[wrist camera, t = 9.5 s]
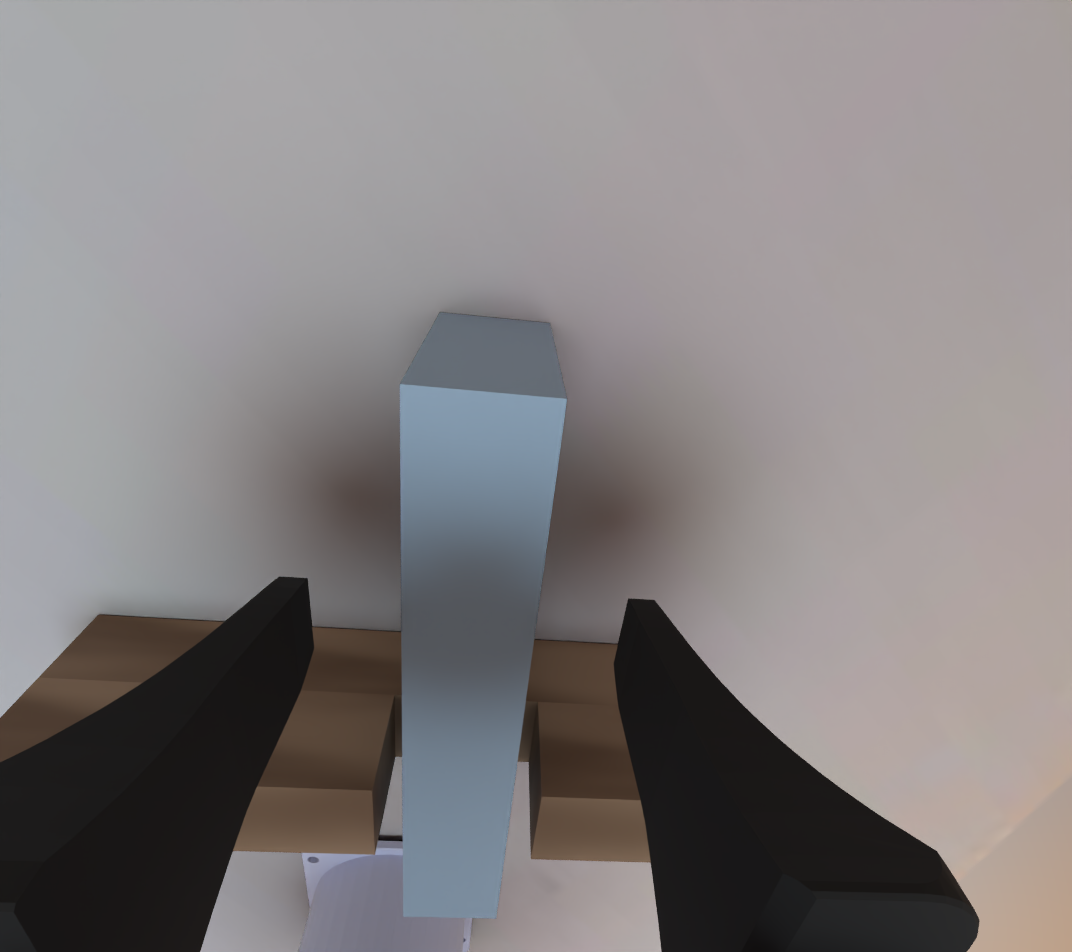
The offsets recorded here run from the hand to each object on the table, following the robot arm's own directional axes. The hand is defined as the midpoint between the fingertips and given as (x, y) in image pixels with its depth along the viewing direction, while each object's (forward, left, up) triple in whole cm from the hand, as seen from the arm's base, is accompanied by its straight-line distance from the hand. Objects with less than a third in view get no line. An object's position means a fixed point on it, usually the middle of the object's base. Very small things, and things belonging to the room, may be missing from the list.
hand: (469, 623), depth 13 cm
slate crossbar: (-3, 0, -6) cm, 7 cm away
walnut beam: (-7, +3, -6) cm, 10 cm away
